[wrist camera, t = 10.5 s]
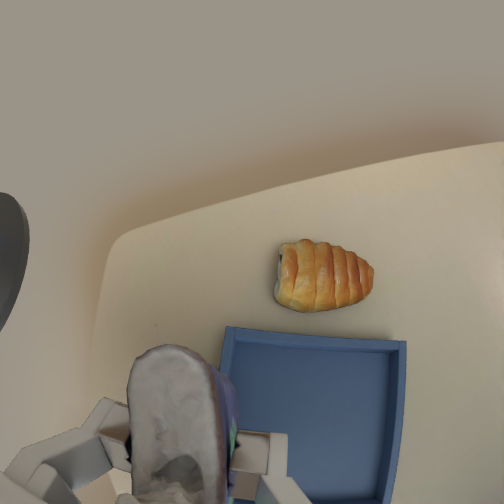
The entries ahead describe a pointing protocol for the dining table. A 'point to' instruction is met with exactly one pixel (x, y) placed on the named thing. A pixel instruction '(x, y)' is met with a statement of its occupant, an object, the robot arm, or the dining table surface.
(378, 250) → the dining table surface
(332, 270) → the pastry
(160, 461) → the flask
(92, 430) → the robot arm
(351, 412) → the blue tray
